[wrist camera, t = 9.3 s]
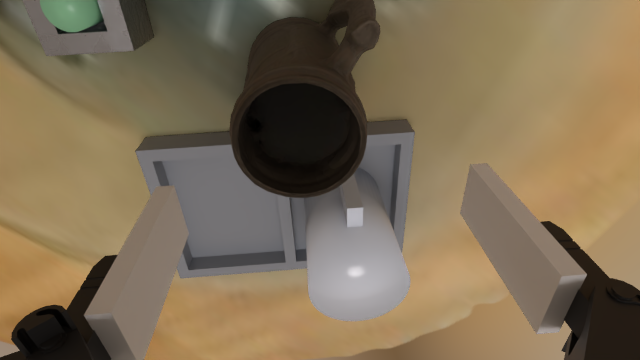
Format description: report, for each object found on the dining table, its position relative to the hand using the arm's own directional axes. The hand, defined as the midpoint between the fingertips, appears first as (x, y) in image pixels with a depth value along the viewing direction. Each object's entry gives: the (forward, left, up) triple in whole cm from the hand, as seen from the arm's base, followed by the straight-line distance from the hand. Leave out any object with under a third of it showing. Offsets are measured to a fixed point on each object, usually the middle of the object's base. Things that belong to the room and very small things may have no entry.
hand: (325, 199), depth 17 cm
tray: (-4, -20, -29) cm, 35 cm away
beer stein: (0, 0, -29) cm, 29 cm away
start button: (-20, +6, -28) cm, 35 cm away
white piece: (+4, -19, -28) cm, 34 cm away
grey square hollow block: (-20, +6, -29) cm, 36 cm away
